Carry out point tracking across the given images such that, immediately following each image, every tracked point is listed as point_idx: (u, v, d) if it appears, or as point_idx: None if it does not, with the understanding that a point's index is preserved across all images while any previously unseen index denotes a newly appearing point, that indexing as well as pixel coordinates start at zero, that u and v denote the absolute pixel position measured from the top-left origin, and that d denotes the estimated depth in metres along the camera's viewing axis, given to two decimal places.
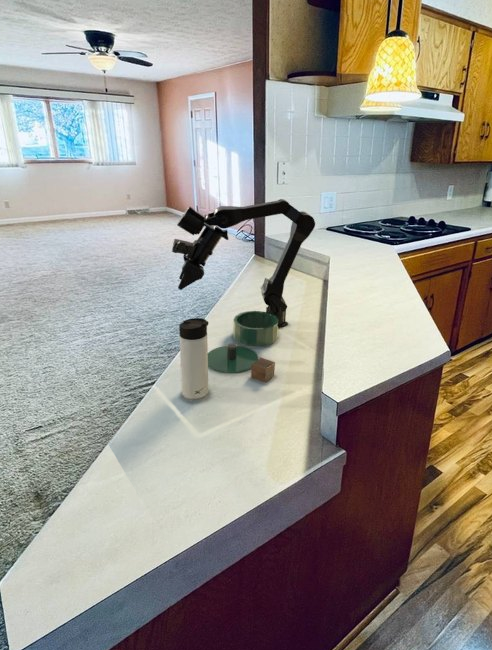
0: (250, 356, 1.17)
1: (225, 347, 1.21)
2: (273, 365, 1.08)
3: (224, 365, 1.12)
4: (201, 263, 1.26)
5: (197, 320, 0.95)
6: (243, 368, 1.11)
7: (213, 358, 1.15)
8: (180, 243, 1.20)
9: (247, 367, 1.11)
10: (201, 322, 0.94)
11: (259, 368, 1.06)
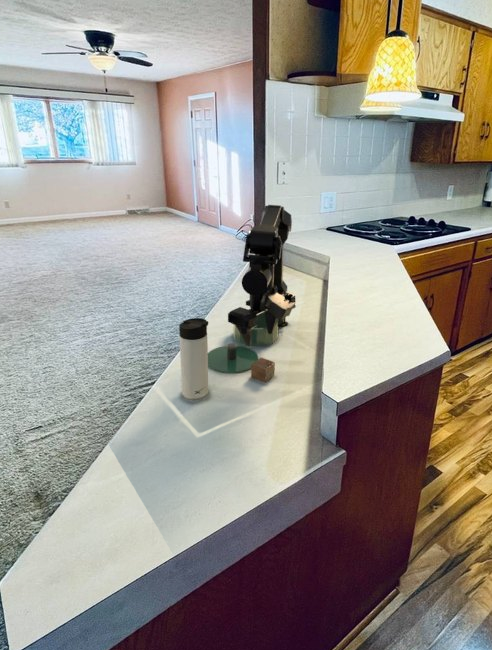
0: (250, 356, 1.17)
1: (225, 347, 1.21)
2: (273, 365, 1.08)
3: (224, 365, 1.12)
4: None
5: (197, 320, 0.95)
6: (243, 368, 1.11)
7: (213, 358, 1.15)
8: None
9: (247, 367, 1.11)
10: (201, 322, 0.94)
11: (259, 368, 1.06)
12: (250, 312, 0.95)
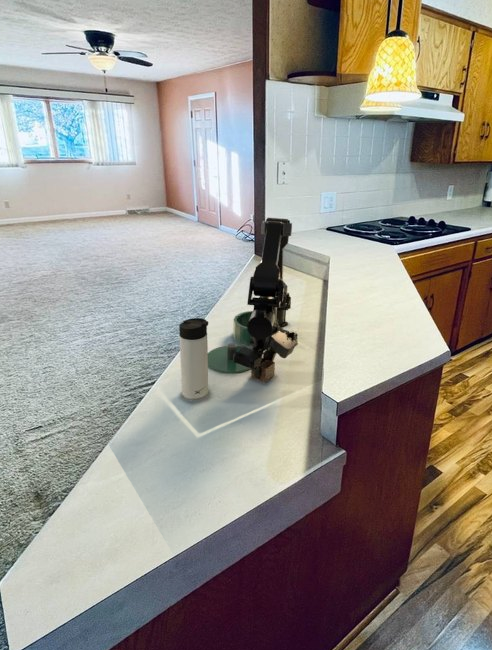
0: None
1: (225, 347, 1.21)
2: (273, 365, 1.08)
3: (224, 365, 1.12)
4: None
5: (197, 320, 0.95)
6: (243, 368, 1.11)
7: (213, 358, 1.15)
8: None
9: (247, 367, 1.11)
10: (201, 322, 0.94)
11: None
12: (255, 352, 0.99)
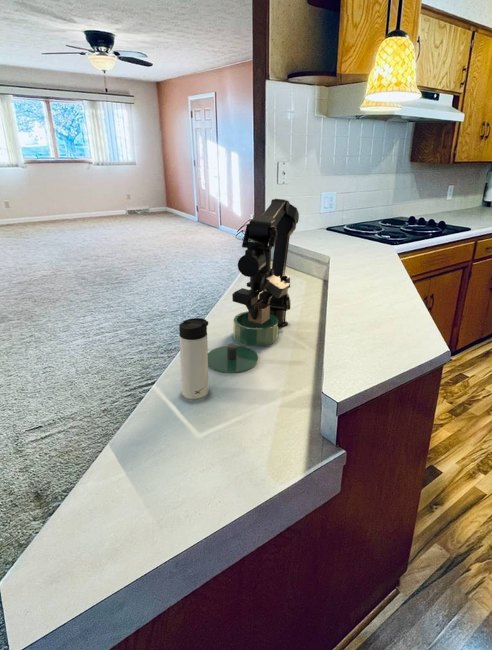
0: (250, 356, 1.17)
1: (225, 347, 1.21)
2: (268, 307, 1.19)
3: (224, 365, 1.12)
4: None
5: (197, 320, 0.95)
6: (243, 368, 1.11)
7: (213, 358, 1.15)
8: None
9: (247, 367, 1.11)
10: (201, 322, 0.94)
11: None
12: (252, 292, 1.10)
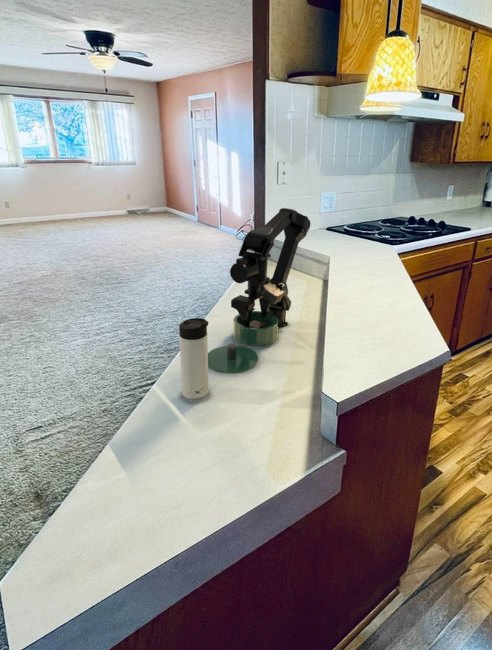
0: (250, 356, 1.17)
1: (225, 347, 1.21)
2: (264, 326, 1.29)
3: (224, 365, 1.12)
4: None
5: (197, 320, 0.95)
6: (243, 368, 1.11)
7: (213, 358, 1.15)
8: None
9: (247, 367, 1.11)
10: (201, 322, 0.94)
11: (252, 327, 1.27)
12: (249, 299, 1.18)
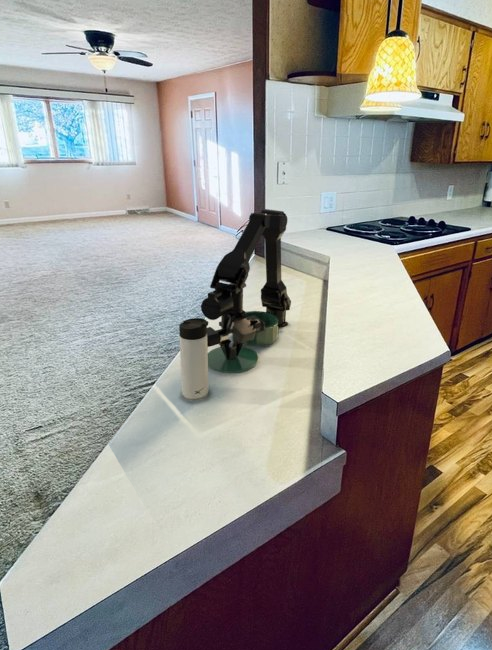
0: (250, 356, 1.17)
1: None
2: None
3: (224, 365, 1.12)
4: None
5: (197, 320, 0.95)
6: (243, 368, 1.11)
7: (213, 358, 1.15)
8: None
9: (247, 367, 1.11)
10: (201, 322, 0.94)
11: None
12: (214, 333, 1.07)
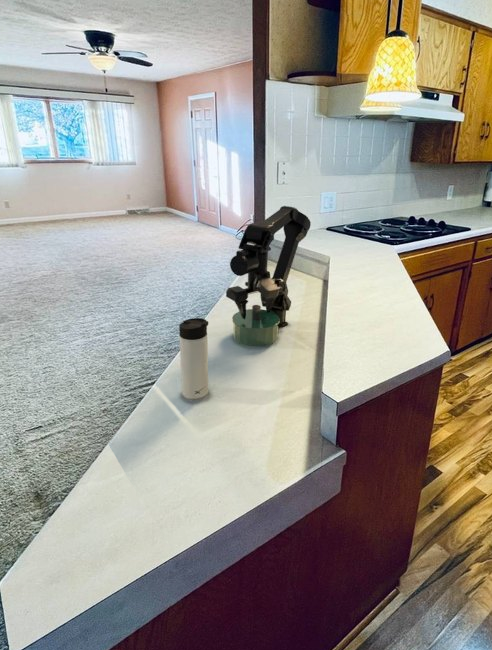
0: (272, 317, 1.29)
1: (249, 310, 1.33)
2: None
3: (250, 323, 1.24)
4: None
5: (197, 320, 0.95)
6: (267, 326, 1.23)
7: (239, 318, 1.27)
8: None
9: (271, 325, 1.23)
10: (201, 322, 0.94)
11: None
12: (242, 290, 1.18)
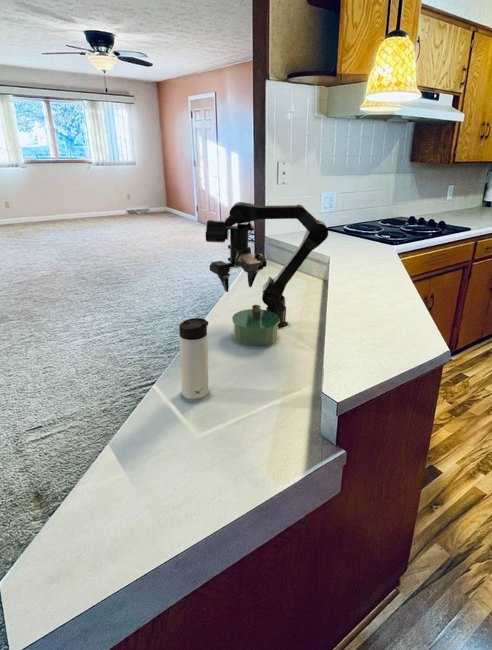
0: (272, 317, 1.29)
1: (249, 310, 1.33)
2: None
3: (250, 323, 1.24)
4: None
5: (197, 320, 0.95)
6: (267, 326, 1.23)
7: (239, 318, 1.27)
8: None
9: (271, 325, 1.23)
10: (201, 322, 0.94)
11: None
12: (224, 264, 1.27)
